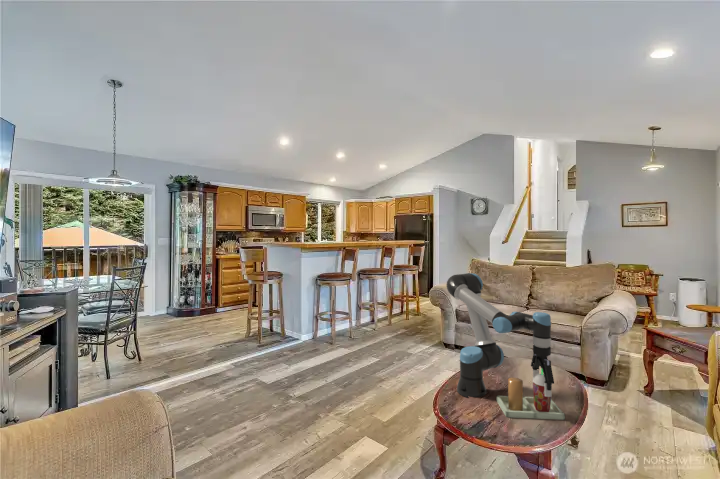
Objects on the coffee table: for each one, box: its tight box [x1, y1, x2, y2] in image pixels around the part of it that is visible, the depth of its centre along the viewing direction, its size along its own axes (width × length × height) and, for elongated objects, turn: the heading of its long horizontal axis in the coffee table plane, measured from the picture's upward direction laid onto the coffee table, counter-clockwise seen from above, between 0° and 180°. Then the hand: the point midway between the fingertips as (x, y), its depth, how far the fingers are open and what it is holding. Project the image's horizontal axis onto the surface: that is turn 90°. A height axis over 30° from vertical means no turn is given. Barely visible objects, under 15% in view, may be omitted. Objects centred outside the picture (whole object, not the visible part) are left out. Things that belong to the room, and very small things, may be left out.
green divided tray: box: [496, 395, 566, 421], centre depth 162 cm, size 26×15×4 cm, turn 84°
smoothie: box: [532, 368, 552, 412], centre depth 161 cm, size 8×8×20 cm
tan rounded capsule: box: [507, 376, 524, 411], centre depth 163 cm, size 6×6×14 cm
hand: (541, 389), depth 162 cm, fingers open, 13 cm apart
